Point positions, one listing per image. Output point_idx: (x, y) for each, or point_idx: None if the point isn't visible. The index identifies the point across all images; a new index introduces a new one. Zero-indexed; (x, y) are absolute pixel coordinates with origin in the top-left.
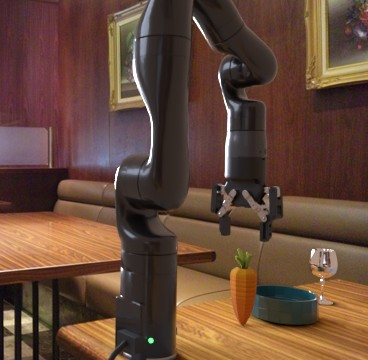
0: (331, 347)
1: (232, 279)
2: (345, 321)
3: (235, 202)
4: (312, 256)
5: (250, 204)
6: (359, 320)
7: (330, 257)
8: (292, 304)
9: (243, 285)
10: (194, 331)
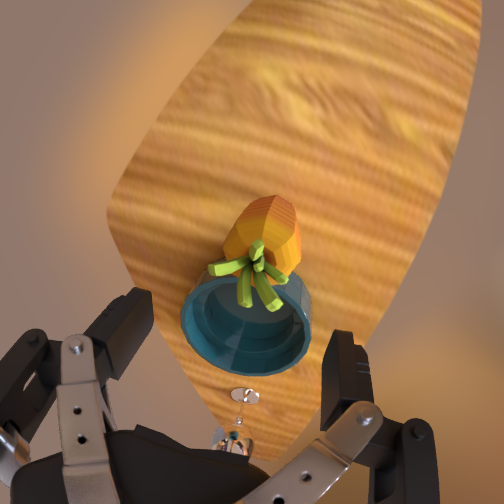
0: (132, 209)
1: (284, 218)
2: (180, 336)
3: (235, 481)
4: (240, 450)
5: (93, 421)
6: (173, 349)
7: (213, 448)
8: (199, 282)
9: (248, 210)
10: (327, 96)
